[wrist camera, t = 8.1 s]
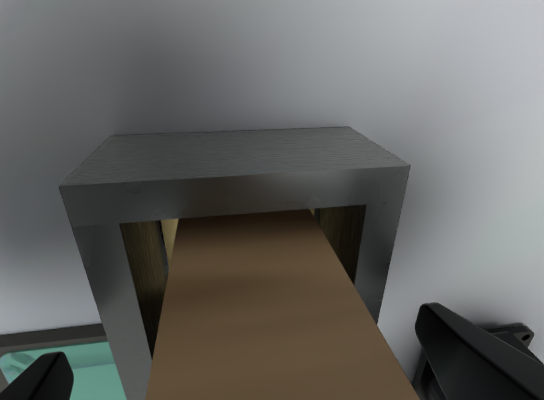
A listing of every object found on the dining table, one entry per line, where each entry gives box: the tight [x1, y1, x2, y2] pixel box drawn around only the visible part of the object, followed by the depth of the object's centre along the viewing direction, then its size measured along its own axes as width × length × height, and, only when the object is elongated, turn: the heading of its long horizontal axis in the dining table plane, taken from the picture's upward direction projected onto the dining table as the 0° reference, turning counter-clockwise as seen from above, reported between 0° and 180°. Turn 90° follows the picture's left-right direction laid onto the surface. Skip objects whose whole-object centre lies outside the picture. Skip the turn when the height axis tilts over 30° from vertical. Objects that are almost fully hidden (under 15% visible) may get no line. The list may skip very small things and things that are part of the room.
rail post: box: [145, 209, 420, 400], centre depth 8 cm, size 4×4×10 cm
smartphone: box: [0, 324, 127, 400], centre depth 15 cm, size 7×1×15 cm
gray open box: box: [59, 127, 410, 400], centre depth 11 cm, size 8×8×4 cm
